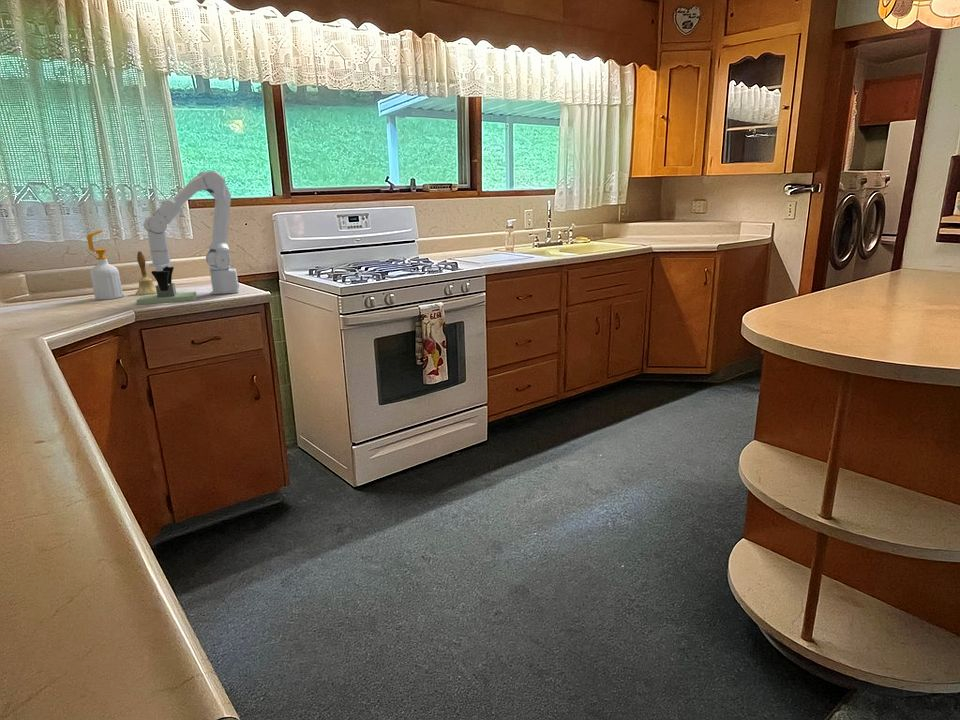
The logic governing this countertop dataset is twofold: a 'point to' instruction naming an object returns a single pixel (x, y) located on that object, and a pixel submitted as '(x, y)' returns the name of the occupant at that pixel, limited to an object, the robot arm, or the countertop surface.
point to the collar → (169, 293)
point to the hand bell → (144, 278)
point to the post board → (166, 298)
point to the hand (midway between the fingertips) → (166, 289)
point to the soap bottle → (104, 275)
